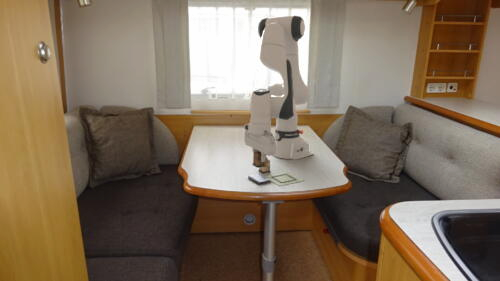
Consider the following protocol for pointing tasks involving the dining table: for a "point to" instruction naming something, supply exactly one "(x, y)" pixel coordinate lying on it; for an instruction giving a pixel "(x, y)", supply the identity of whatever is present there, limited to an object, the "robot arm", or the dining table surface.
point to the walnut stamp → (257, 159)
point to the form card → (284, 178)
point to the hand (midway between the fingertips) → (259, 159)
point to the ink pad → (259, 179)
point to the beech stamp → (266, 168)
